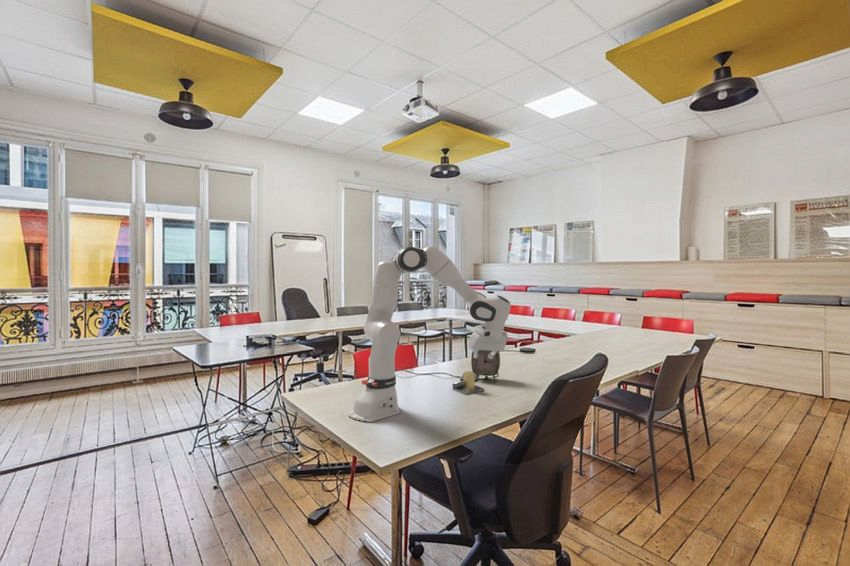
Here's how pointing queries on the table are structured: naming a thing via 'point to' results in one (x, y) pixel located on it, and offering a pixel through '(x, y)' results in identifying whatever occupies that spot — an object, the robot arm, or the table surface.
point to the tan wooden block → (468, 380)
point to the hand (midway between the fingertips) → (482, 358)
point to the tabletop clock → (485, 364)
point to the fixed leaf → (459, 388)
